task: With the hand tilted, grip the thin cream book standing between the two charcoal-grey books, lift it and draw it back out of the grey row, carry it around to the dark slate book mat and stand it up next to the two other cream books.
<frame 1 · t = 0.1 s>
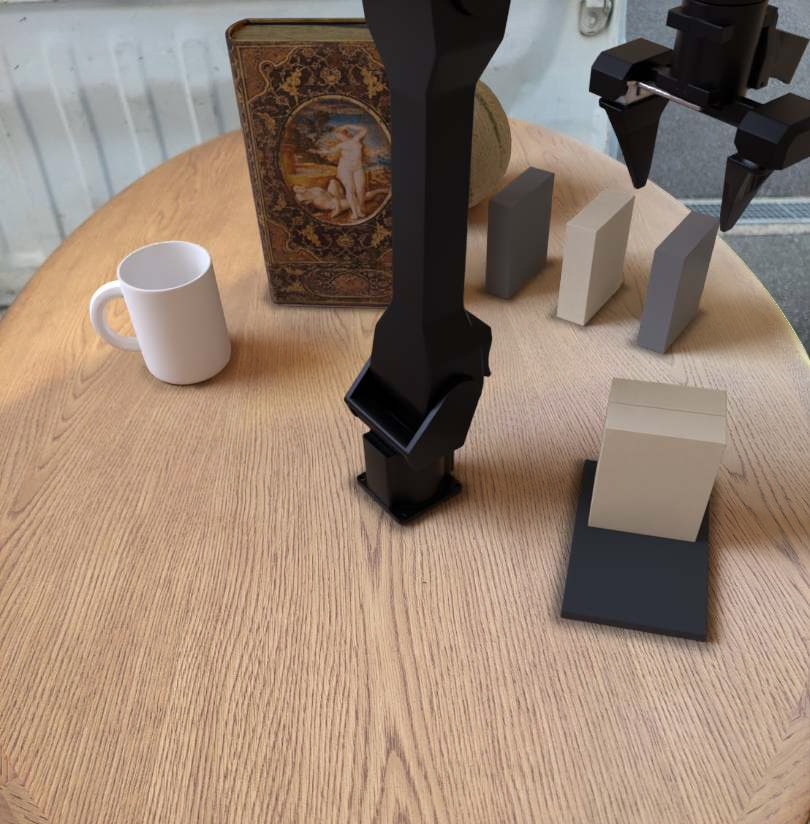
hand: (681, 208, 71), 15 cm above the table, tool pointing down, fingers open, 9 cm apart
mug: (171, 363, 84), on the table
grey books: (588, 302, 88), on the table
cream book: (588, 302, 88), on the table
cantaloupe: (444, 207, 103), on the table
book mat: (638, 546, 67), on the table
book: (348, 294, 91), on the table
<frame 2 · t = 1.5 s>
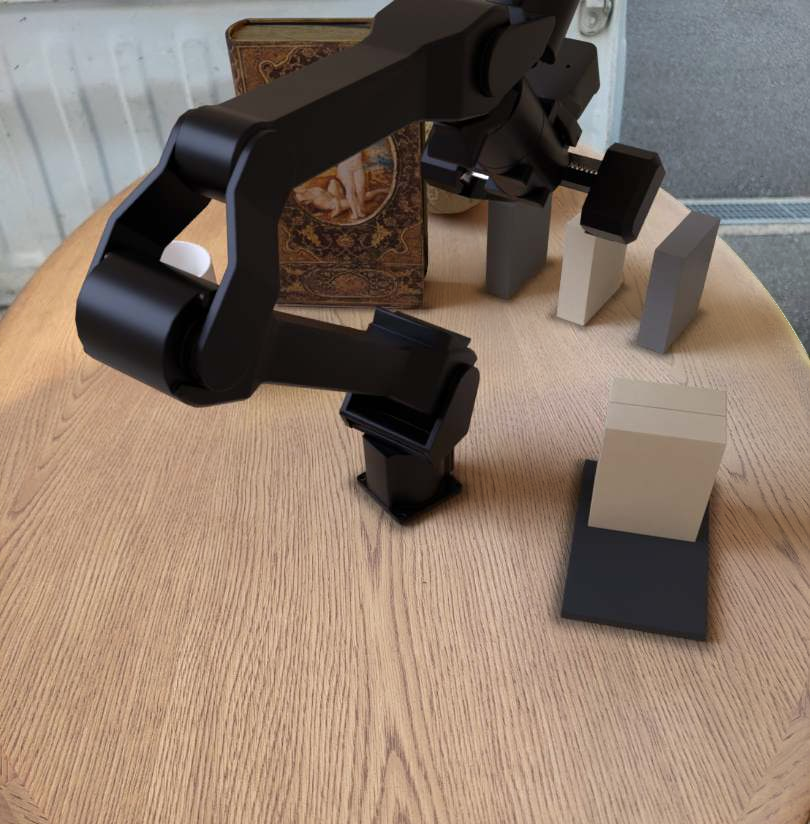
hand: (564, 210, 74), 13 cm above the table, tool tilted 45°, fingers open, 9 cm apart
nothing on the table moved.
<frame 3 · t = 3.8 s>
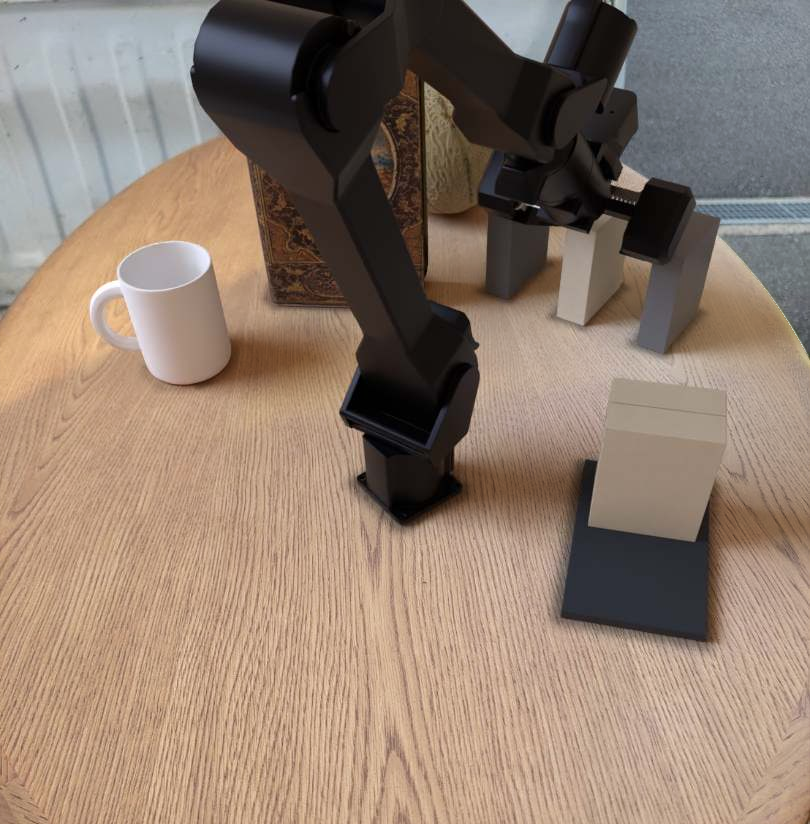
hand: (603, 232, 84), 7 cm above the table, tool tilted 45°, fingers open, 8 cm apart
nothing on the table moved.
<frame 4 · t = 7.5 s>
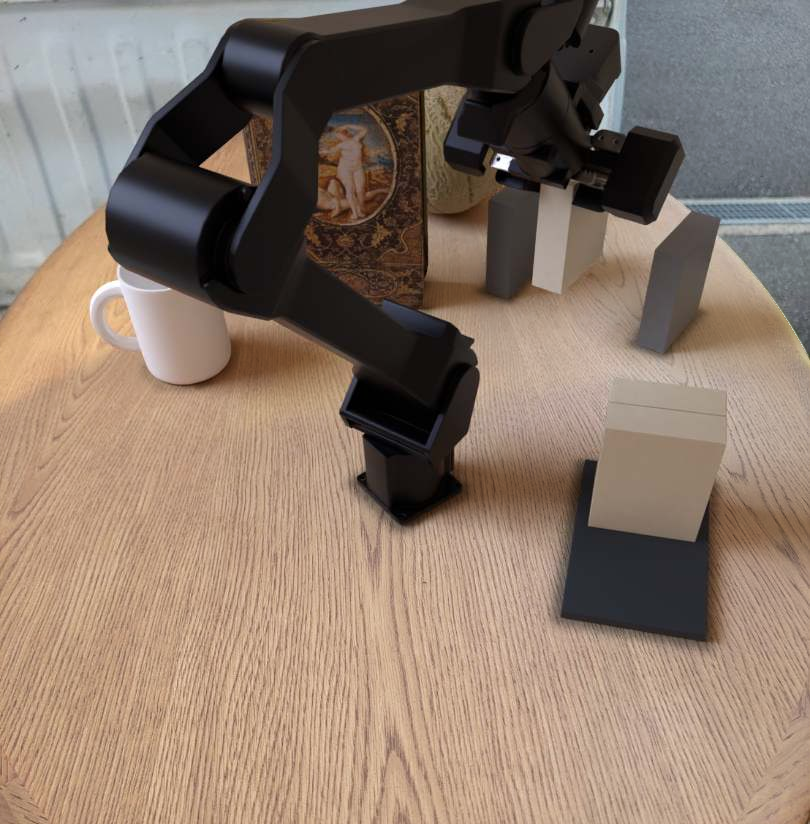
hand: (583, 195, 76), 13 cm above the table, tool tilted 45°, fingers closed on cream book, 3 cm apart
cream book: (567, 270, 80), point 7 cm above the table, touching gripper
everything else where it was.
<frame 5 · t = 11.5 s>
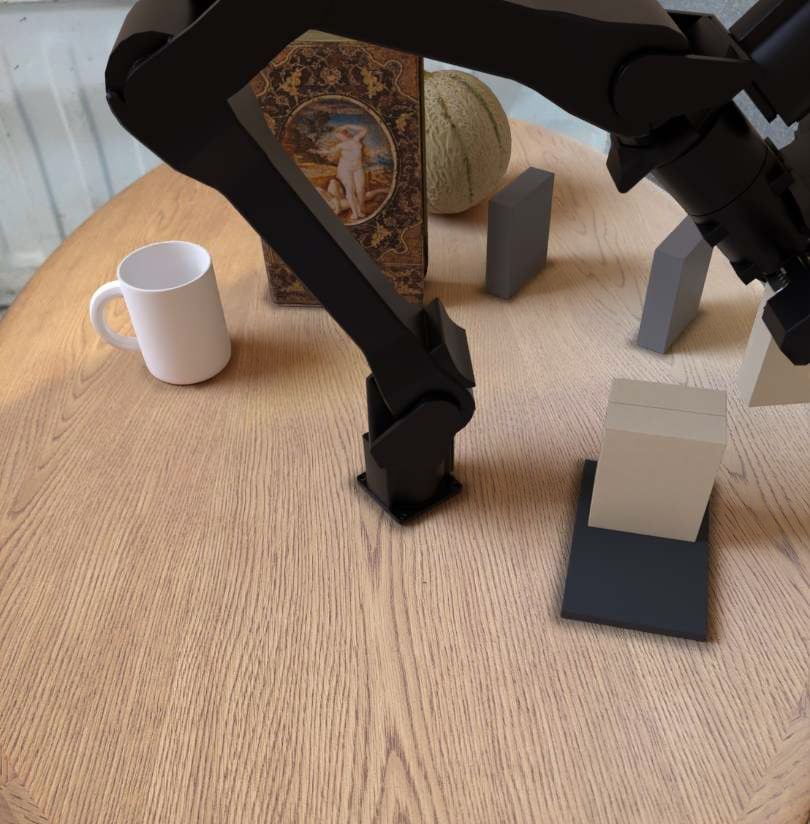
cream book: (792, 391, 67), point 7 cm above the table, touching gripper
everything else where it was.
when the fingers open (7 cm above the table, at t = 18.3 s): cream book stays where it is, resting on book mat.
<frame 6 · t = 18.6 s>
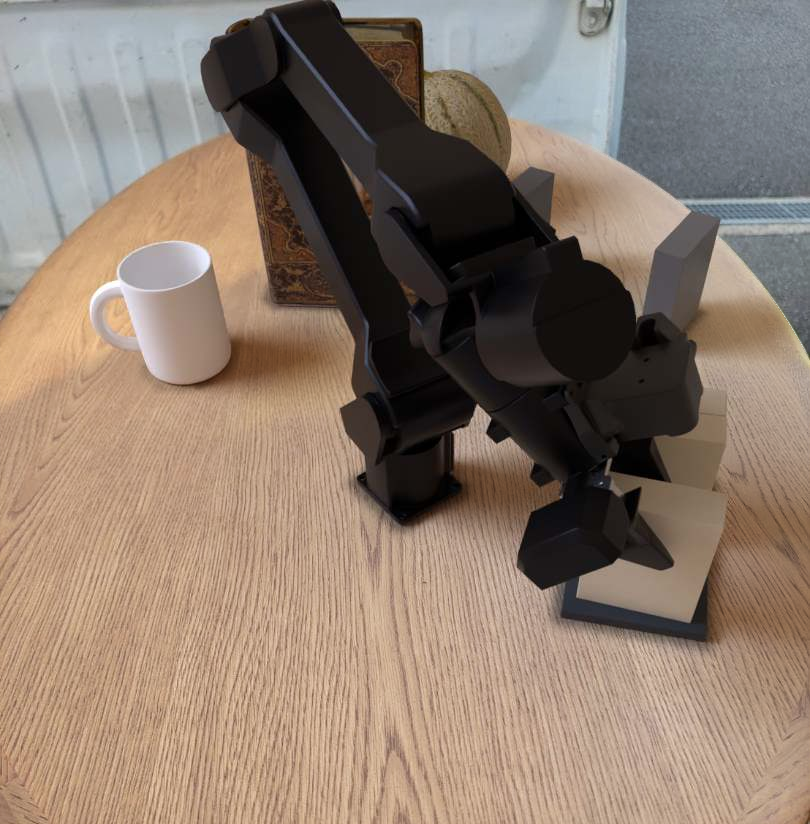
hand: (672, 540, 57), 7 cm above the table, tool tilted 45°, fingers open, 4 cm apart
cream book: (635, 594, 63), point 1 cm above the table, touching book mat
everything else where it was.
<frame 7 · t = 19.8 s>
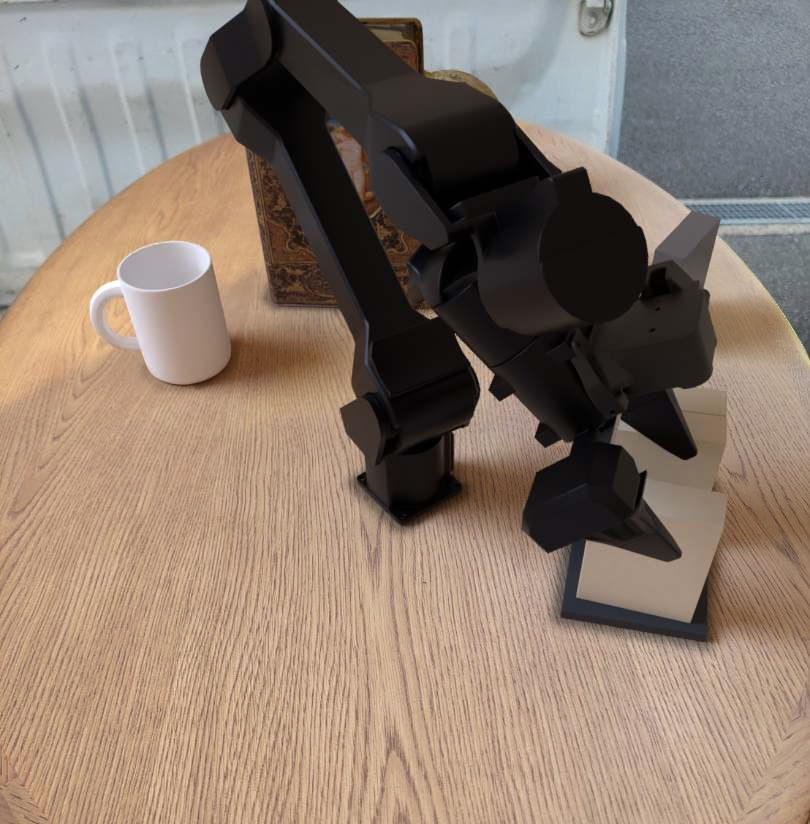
hand: (683, 504, 55), 11 cm above the table, tool tilted 45°, fingers open, 9 cm apart
nothing on the table moved.
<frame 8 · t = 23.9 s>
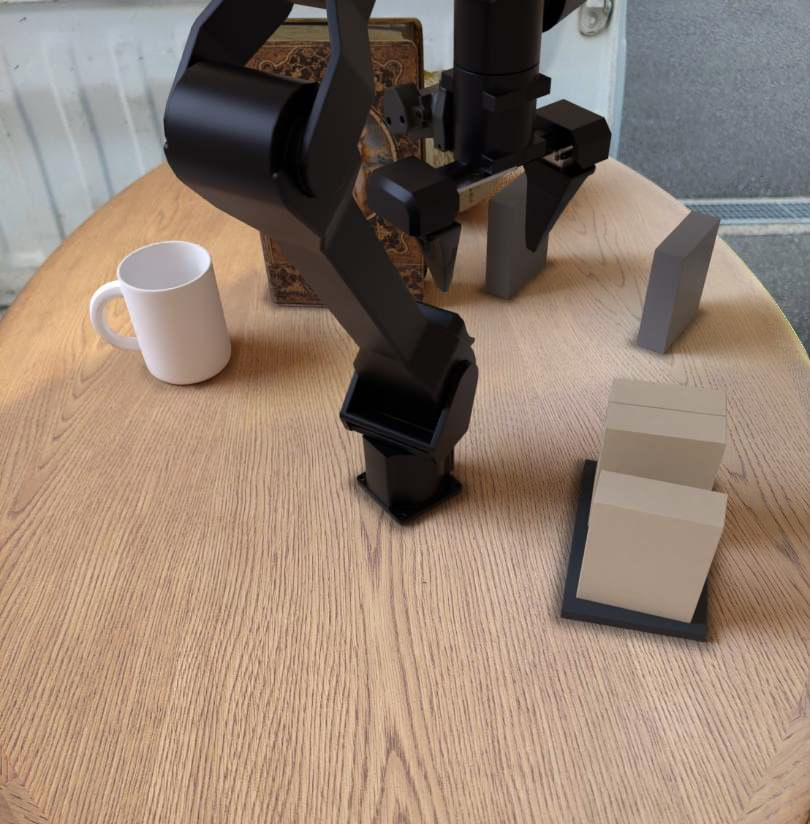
hand: (488, 269, 69), 13 cm above the table, tool pointing down, fingers open, 9 cm apart
nothing on the table moved.
at the end: cream book 0.2 cm from the target spot on the book mat, point 0.8 cm above the book mat's base; cream book tilted 0°; cream book moved 38.1 cm from its start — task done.
